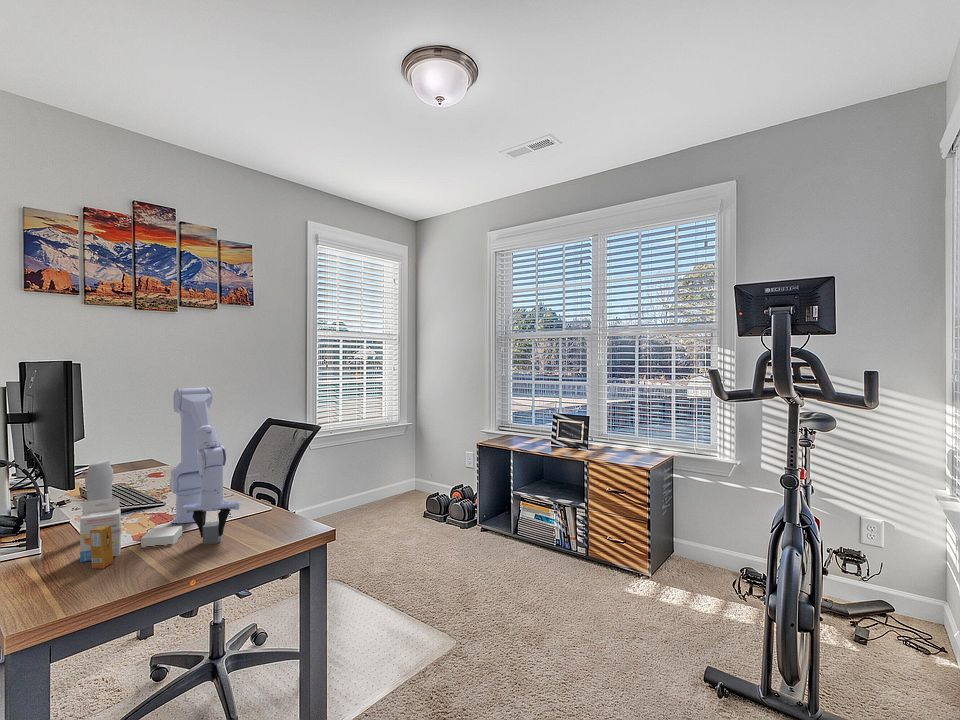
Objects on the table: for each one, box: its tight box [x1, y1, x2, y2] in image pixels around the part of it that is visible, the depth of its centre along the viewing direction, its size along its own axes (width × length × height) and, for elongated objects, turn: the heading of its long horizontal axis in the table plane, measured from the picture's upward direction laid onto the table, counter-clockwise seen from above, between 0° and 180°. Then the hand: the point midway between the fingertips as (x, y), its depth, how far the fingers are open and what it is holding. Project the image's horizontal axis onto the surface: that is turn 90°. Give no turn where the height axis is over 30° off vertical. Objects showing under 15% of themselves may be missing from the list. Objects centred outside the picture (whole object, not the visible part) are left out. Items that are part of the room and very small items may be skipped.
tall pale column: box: [84, 459, 114, 507], centre depth 148 cm, size 11×4×22 cm, turn 1°
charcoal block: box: [202, 520, 222, 545], centre depth 143 cm, size 4×4×5 cm
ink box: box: [79, 497, 122, 563], centre depth 132 cm, size 8×5×15 cm, turn 123°
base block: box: [140, 525, 183, 548], centre depth 143 cm, size 8×8×3 cm
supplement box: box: [90, 526, 114, 569], centre depth 126 cm, size 3×3×10 cm
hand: (212, 535), depth 143 cm, fingers closed on charcoal block, 4 cm apart
